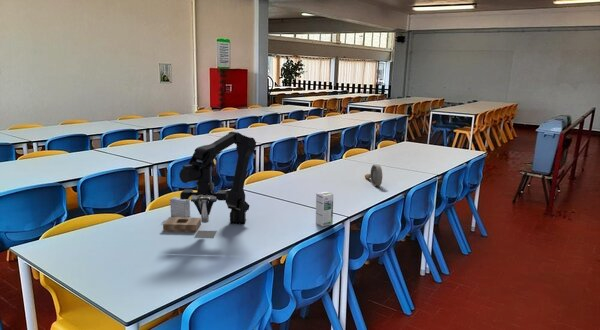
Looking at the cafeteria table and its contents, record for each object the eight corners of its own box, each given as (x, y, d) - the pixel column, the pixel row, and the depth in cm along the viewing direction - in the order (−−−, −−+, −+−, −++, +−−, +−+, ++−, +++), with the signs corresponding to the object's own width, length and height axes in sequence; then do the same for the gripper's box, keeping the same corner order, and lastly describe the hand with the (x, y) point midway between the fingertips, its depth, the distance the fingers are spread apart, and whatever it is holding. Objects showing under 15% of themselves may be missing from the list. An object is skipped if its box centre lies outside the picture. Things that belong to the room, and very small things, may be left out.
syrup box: (322, 226, 197) (323, 196, 194) (314, 222, 202) (316, 192, 198) (332, 224, 200) (334, 194, 197) (324, 220, 205) (326, 190, 202)
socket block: (200, 225, 195) (200, 217, 194) (196, 232, 186) (196, 225, 185) (169, 224, 195) (169, 216, 194) (163, 231, 186) (162, 224, 185)
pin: (210, 220, 184) (210, 197, 182) (208, 223, 181) (208, 200, 179) (201, 219, 184) (201, 197, 182) (199, 223, 181) (198, 199, 179)
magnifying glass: (363, 166, 285) (377, 164, 260) (368, 166, 285) (382, 164, 261) (364, 186, 284) (378, 186, 259) (368, 186, 284) (382, 185, 260)
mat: (217, 231, 188) (217, 230, 188) (213, 238, 180) (213, 238, 180) (198, 231, 188) (198, 230, 188) (194, 238, 180) (194, 237, 180)
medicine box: (190, 215, 207) (190, 198, 205) (185, 218, 202) (185, 200, 201) (175, 213, 209) (175, 196, 207) (170, 216, 205) (169, 199, 203)
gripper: (230, 174, 186) (230, 209, 190) (186, 172, 186) (187, 207, 190) (225, 180, 176) (226, 217, 179) (179, 179, 175) (180, 216, 179)
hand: (204, 214), depth 182 cm, fingers closed on pin, 3 cm apart
